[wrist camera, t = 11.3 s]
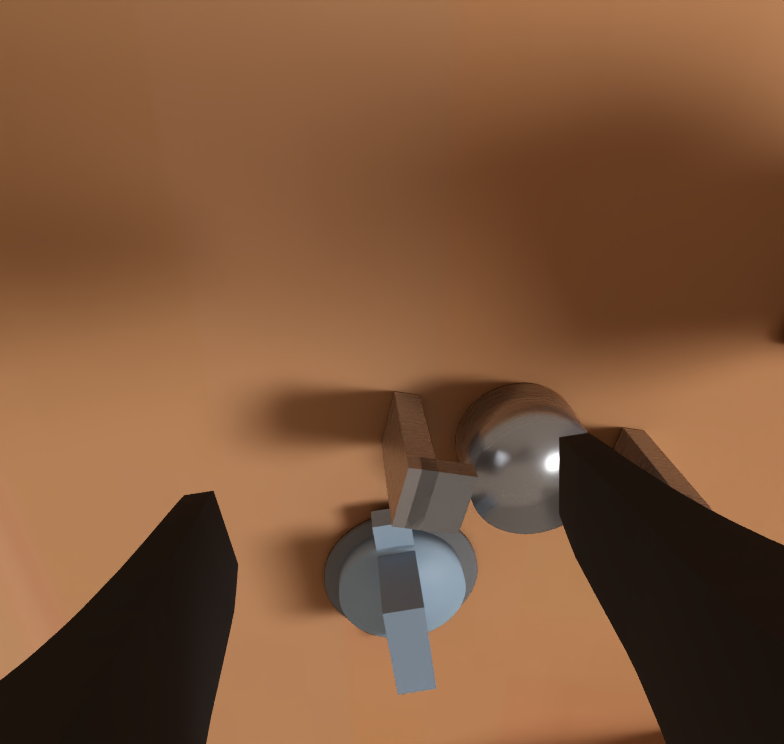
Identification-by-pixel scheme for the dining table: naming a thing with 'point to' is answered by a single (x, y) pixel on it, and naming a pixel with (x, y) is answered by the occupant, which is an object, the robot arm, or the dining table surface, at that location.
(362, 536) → the pad
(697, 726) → the robot arm
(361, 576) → the cap
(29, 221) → the dining table surface
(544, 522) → the metal ball with blocks
